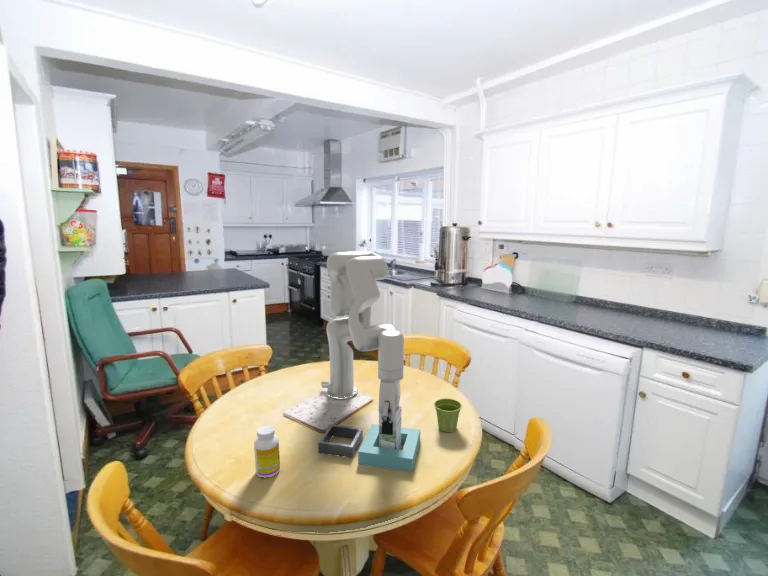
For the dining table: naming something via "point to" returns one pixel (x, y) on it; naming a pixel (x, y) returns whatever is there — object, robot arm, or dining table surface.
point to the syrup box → (395, 438)
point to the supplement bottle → (266, 452)
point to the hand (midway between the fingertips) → (390, 425)
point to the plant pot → (447, 413)
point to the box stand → (337, 448)
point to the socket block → (390, 450)
